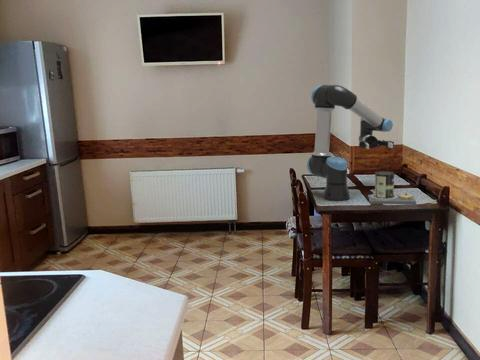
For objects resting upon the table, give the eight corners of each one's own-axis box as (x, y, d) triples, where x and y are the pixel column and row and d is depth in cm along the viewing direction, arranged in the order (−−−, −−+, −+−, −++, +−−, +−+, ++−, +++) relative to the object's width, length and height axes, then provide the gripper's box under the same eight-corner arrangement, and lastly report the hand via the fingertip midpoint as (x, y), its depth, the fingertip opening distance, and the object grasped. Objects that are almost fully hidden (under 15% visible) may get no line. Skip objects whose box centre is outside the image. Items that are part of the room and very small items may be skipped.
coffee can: (392, 195, 264) (393, 171, 261) (394, 199, 254) (395, 174, 251) (373, 195, 266) (374, 171, 263) (375, 199, 256) (375, 174, 253)
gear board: (370, 203, 255) (370, 195, 254) (368, 197, 269) (368, 189, 268) (416, 204, 251) (416, 196, 250) (411, 197, 264) (411, 189, 263)
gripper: (390, 147, 285) (401, 152, 264) (349, 148, 285) (358, 153, 265) (390, 135, 284) (402, 139, 263) (350, 136, 284) (358, 140, 263)
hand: (380, 146), depth 264 cm, fingers open, 13 cm apart
